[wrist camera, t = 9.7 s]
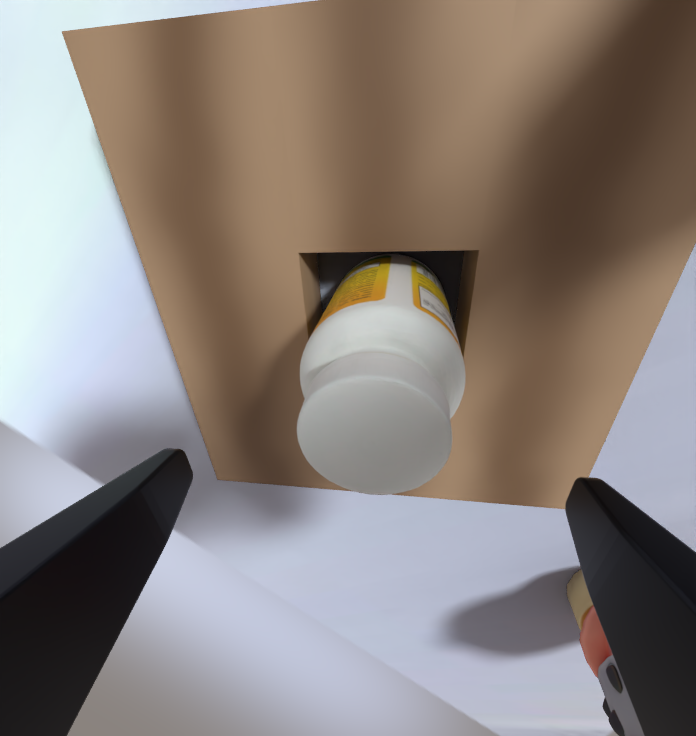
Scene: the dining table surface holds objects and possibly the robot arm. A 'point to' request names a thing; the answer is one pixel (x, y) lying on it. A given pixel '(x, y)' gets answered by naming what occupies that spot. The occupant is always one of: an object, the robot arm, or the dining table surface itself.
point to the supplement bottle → (381, 379)
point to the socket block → (409, 206)
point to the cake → (602, 660)
